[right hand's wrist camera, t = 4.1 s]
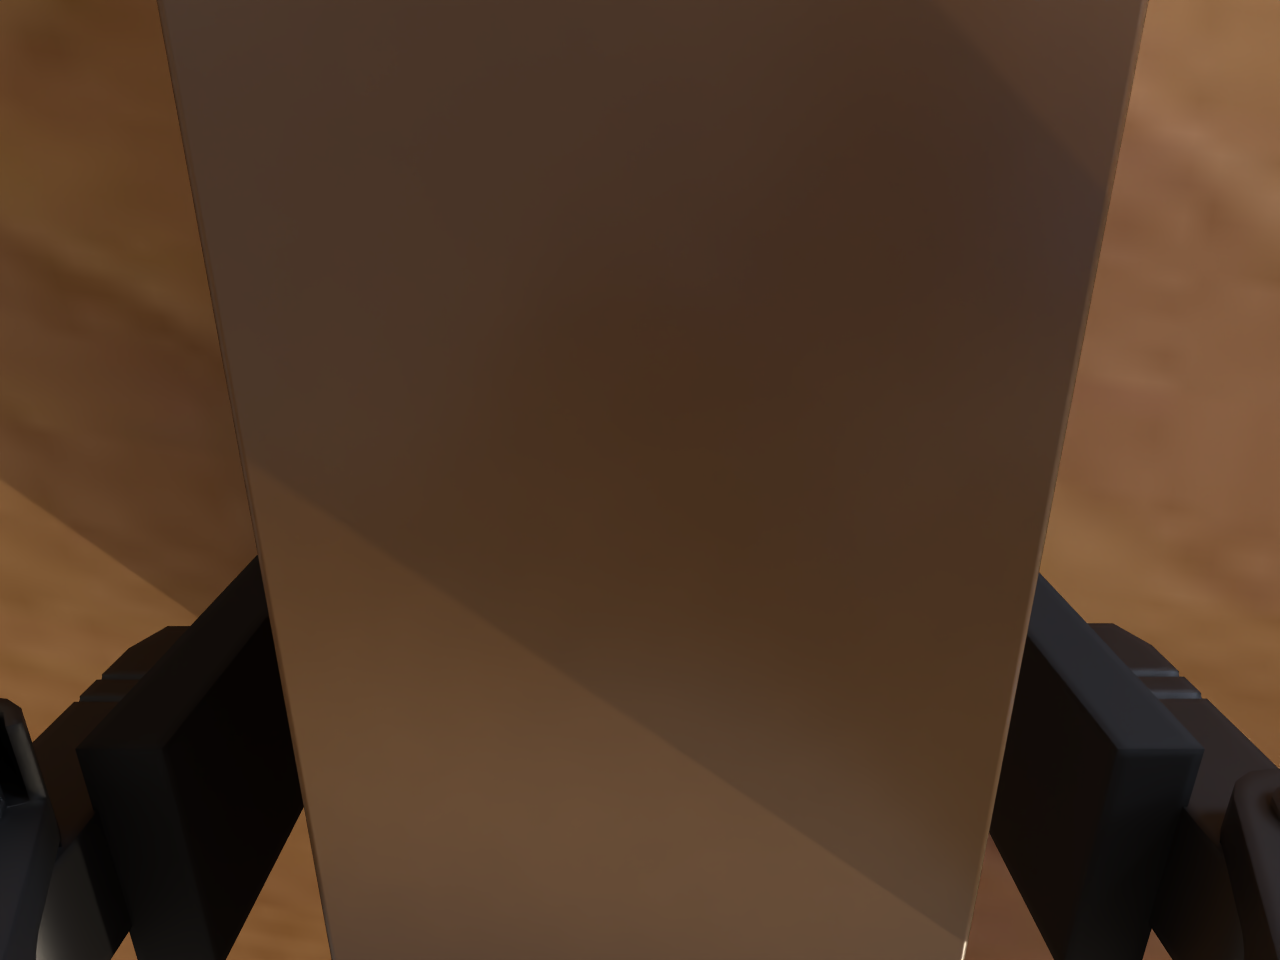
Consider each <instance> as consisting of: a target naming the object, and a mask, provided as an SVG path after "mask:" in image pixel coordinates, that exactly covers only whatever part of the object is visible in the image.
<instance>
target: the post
mask: <svg viewBox="0 0 1280 960" xmlns="http://www.w3.org/2000/svg"><path fill="white" fill-rule="evenodd" d="M1148 1H1149V0H157V4H158V10H159V15H160V21H161V26H162V31H163V37H164V42H165V48H166V53H167V59H168V64H169V70H170V75H171V81H172V86H173V92H174V97H175V103H176V108H177V114H178V119H179V125H180V130H181V136H182V141H183V147H184V152H185V158H186V163H187V169H188V174H189V180H190V185H191V191H192V196H193V201H194V207H195V212H196V218H197V223H198V229H199V234H200V240H201V245H202V251H203V256H204V262H205V267H206V273H207V278H208V284H209V289H210V295H211V300H212V306H213V311H214V317H215V322H216V328H217V333H218V339H219V344H220V350H221V355H222V361H223V366H224V371H225V377H226V382H227V388H228V393H229V399H230V404H231V410H232V415H233V421H234V426H235V432H236V437H237V443H238V448H239V454H240V459H241V465H242V470H243V476H244V481H245V487H246V492H247V498H248V503H249V509H250V514H251V520H252V525H253V530H254V536H255V541H256V547H257V552H258V558H259V563H260V569H261V574H262V580H263V585H264V591H265V596H266V602H267V607H268V613H269V618H270V624H271V629H272V635H273V640H274V646H275V651H276V657H277V662H278V668H279V673H280V679H281V684H282V690H283V695H284V700H285V706H286V711H287V717H288V722H289V728H290V733H291V739H292V744H293V750H294V755H295V761H296V766H297V772H298V777H299V783H300V788H301V794H302V799H303V805H304V810H305V816H306V821H307V827H308V832H309V838H310V843H311V849H312V854H313V860H314V865H315V870H316V876H317V881H318V887H319V892H320V898H321V903H322V909H323V914H324V920H325V925H326V931H327V936H328V942H329V947H330V953H331V958H332V960H964V959H965V954H966V949H967V944H968V939H969V933H970V928H971V923H972V918H973V912H974V907H975V902H976V897H977V892H978V886H979V881H980V876H981V871H982V866H983V860H984V855H985V850H986V845H987V840H988V834H989V829H990V824H991V819H992V813H993V808H994V803H995V798H996V793H997V787H998V782H999V777H1000V772H1001V767H1002V761H1003V756H1004V751H1005V746H1006V741H1007V735H1008V730H1009V725H1010V720H1011V714H1012V709H1013V704H1014V699H1015V694H1016V688H1017V683H1018V678H1019V673H1020V668H1021V662H1022V657H1023V652H1024V647H1025V642H1026V636H1027V631H1028V626H1029V621H1030V615H1031V610H1032V605H1033V600H1034V595H1035V589H1036V584H1037V579H1038V574H1039V569H1040V563H1041V558H1042V553H1043V548H1044V543H1045V537H1046V532H1047V527H1048V522H1049V516H1050V511H1051V506H1052V501H1053V496H1054V490H1055V485H1056V480H1057V475H1058V470H1059V464H1060V459H1061V454H1062V449H1063V444H1064V438H1065V433H1066V428H1067V423H1068V417H1069V412H1070V407H1071V402H1072V397H1073V391H1074V386H1075V381H1076V376H1077V371H1078V365H1079V360H1080V355H1081V350H1082V345H1083V339H1084V334H1085V329H1086V324H1087V318H1088V313H1089V308H1090V303H1091V298H1092V292H1093V287H1094V282H1095V277H1096V272H1097V266H1098V261H1099V256H1100V251H1101V246H1102V240H1103V235H1104V230H1105V225H1106V219H1107V214H1108V209H1109V204H1110V199H1111V193H1112V188H1113V183H1114V178H1115V173H1116V167H1117V162H1118V157H1119V152H1120V147H1121V141H1122V136H1123V131H1124V126H1125V120H1126V115H1127V110H1128V105H1129V100H1130V94H1131V89H1132V84H1133V79H1134V74H1135V68H1136V63H1137V58H1138V53H1139V48H1140V42H1141V37H1142V32H1143V27H1144V21H1145V16H1146V11H1147V6H1148Z"/></svg>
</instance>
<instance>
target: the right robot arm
mask: <svg viewBox="0 0 1280 960" xmlns="http://www.w3.org/2000/svg"><path fill="white" fill-rule="evenodd" d="M303 807H304V805H303V799H302V794H301V788H300V783H299V777H298V772H297V766H296V761H295V755H294V750H293V744H292V739H291V733H290V728H289V722H288V717H287V711H286V706H285V700H284V695H283V690H282V684H281V679H280V673H279V668H278V662H277V657H276V651H275V646H274V640H273V635H272V629H271V624H270V618H269V613H268V607H267V602H266V596H265V591H264V585H263V580H262V574H261V569H260V563H259V558H258V555H257V556H256V557H255V558H254V559H253V560H252V561H251V562H250V563H249V564H248V565H247V567H246V568H245V569H244V570H243V571H242V572H241V573H240V574H239V575H238V576H237V577H236V578H235V579H234V580H233V581H232V582H231V584H230V585H229V586H228V587H227V588H226V589H225V590H224V591H223V592H222V593H221V594H220V595H219V596H218V597H217V598H216V599H215V601H214V602H213V603H212V604H211V605H210V606H209V607H208V608H207V609H206V610H205V611H204V612H203V613H202V614H201V615H200V616H199V618H198V619H197V620H196V621H195V622H194V623H193V624H192V625H191V626H167V627H165V628H164V629H162V630H160V631H158V632H157V633H155V634H153V635H151V636H150V637H148V638H146V639H144V640H143V641H141V642H139V643H137V644H136V645H134V646H132V647H130V648H129V649H128V650H127V651H126V652H125V653H124V654H123V655H122V656H121V657H119V658H118V659H117V660H116V661H115V662H114V663H113V664H112V665H111V666H110V667H109V668H108V669H107V670H106V671H105V672H104V673H103V674H102V679H101V680H96V681H95V682H94V683H93V684H92V685H91V686H90V687H89V688H88V689H87V690H86V691H85V692H84V693H83V694H82V695H81V696H80V701H79V702H74V703H72V704H71V705H70V706H69V707H68V708H67V709H66V710H65V711H64V712H63V713H62V714H61V715H60V716H59V717H58V718H57V719H56V720H55V721H54V722H53V723H52V724H51V725H50V726H49V727H48V728H47V729H46V730H45V731H44V732H43V733H42V734H41V735H40V736H39V737H38V738H37V739H36V740H35V741H34V742H33V743H32V741H31V738H30V734H29V731H28V728H27V725H26V722H25V719H24V716H23V712H22V709H21V708H20V707H19V706H17V705H16V704H14V703H13V702H11V701H9V700H8V699H3V698H0V960H111V958H112V957H113V955H114V954H115V952H116V950H117V949H118V947H119V946H120V944H121V943H122V941H123V940H124V938H125V937H126V935H127V934H128V932H130V935H131V939H132V942H133V945H134V949H135V952H136V956H137V959H138V960H226V958H227V956H228V954H229V952H230V950H231V948H232V946H233V945H234V943H235V941H236V939H237V937H238V935H239V933H240V931H241V929H242V927H243V925H244V923H245V921H246V919H247V917H248V915H249V913H250V911H251V909H252V907H253V905H254V903H255V901H256V899H257V898H258V896H259V894H260V892H261V890H262V888H263V886H264V884H265V882H266V880H267V878H268V876H269V874H270V872H271V870H272V868H273V866H274V864H275V862H276V860H277V858H278V856H279V854H280V852H281V850H282V849H283V847H284V845H285V843H286V841H287V839H288V837H289V835H290V833H291V831H292V829H293V827H294V825H295V823H296V821H297V819H298V817H299V815H300V813H301V811H302V809H303ZM989 833H990V835H991V837H992V839H993V841H994V843H995V845H996V847H997V849H998V851H999V852H1000V854H1001V856H1002V858H1003V860H1004V862H1005V864H1006V866H1007V868H1008V870H1009V872H1010V874H1011V876H1012V878H1013V880H1014V882H1015V884H1016V886H1017V888H1018V890H1019V892H1020V894H1021V896H1022V898H1023V900H1024V901H1025V903H1026V905H1027V907H1028V909H1029V911H1030V913H1031V915H1032V917H1033V919H1034V921H1035V923H1036V925H1037V927H1038V929H1039V931H1040V933H1041V935H1042V937H1043V939H1044V941H1045V943H1046V945H1047V947H1048V948H1049V950H1050V952H1051V954H1052V956H1053V958H1054V960H1142V959H1143V956H1144V952H1145V949H1146V945H1147V942H1148V939H1149V935H1150V932H1151V929H1153V931H1154V932H1155V934H1156V935H1157V937H1158V938H1159V940H1160V941H1161V943H1162V944H1163V946H1164V947H1165V949H1166V950H1167V952H1168V953H1169V955H1170V957H1171V958H1172V960H1280V769H1279V768H1277V767H1276V766H1275V765H1274V764H1273V763H1272V762H1271V761H1270V760H1269V759H1268V758H1267V757H1266V756H1265V755H1264V754H1263V753H1262V752H1261V751H1260V750H1259V749H1258V748H1257V747H1256V746H1255V745H1254V744H1253V743H1252V742H1251V741H1250V740H1249V739H1248V738H1247V737H1246V736H1245V735H1244V734H1243V733H1241V732H1240V731H1239V730H1238V729H1237V728H1236V727H1235V726H1234V725H1233V724H1232V723H1231V722H1230V721H1229V720H1228V719H1227V718H1226V717H1225V716H1224V715H1223V714H1222V713H1221V712H1220V711H1219V710H1218V709H1217V708H1216V707H1215V706H1214V705H1213V704H1212V703H1211V702H1210V701H1209V700H1208V699H1202V698H1201V693H1200V692H1199V691H1198V690H1197V689H1196V688H1195V687H1194V686H1193V685H1192V684H1191V683H1190V682H1189V681H1188V680H1187V679H1186V678H1185V677H1179V671H1178V670H1177V669H1176V668H1175V667H1174V666H1173V665H1172V664H1170V663H1169V662H1168V661H1167V660H1166V659H1165V658H1164V657H1163V656H1162V655H1161V654H1160V653H1159V652H1158V651H1157V650H1156V649H1155V648H1154V647H1153V646H1152V645H1150V644H1148V643H1147V642H1145V641H1143V640H1141V639H1140V638H1138V637H1136V636H1134V635H1133V634H1131V633H1129V632H1127V631H1125V630H1124V629H1122V628H1120V627H1118V626H1117V625H1115V624H1113V623H1086V622H1085V621H1084V620H1083V619H1082V618H1081V617H1080V615H1079V614H1078V613H1077V612H1076V611H1075V610H1074V609H1073V608H1072V607H1071V606H1070V605H1069V604H1068V603H1067V602H1066V601H1065V599H1064V598H1063V597H1062V596H1061V595H1060V594H1059V593H1058V592H1057V591H1056V590H1055V589H1054V588H1053V587H1052V586H1051V585H1050V584H1049V582H1048V581H1047V580H1046V579H1045V578H1044V577H1043V576H1042V575H1041V574H1040V573H1039V574H1038V579H1037V584H1036V589H1035V595H1034V600H1033V605H1032V610H1031V615H1030V621H1029V626H1028V631H1027V636H1026V642H1025V647H1024V652H1023V657H1022V662H1021V668H1020V673H1019V678H1018V683H1017V688H1016V694H1015V699H1014V704H1013V709H1012V714H1011V720H1010V725H1009V730H1008V735H1007V741H1006V746H1005V751H1004V756H1003V761H1002V767H1001V772H1000V777H999V782H998V787H997V793H996V798H995V803H994V808H993V813H992V819H991V824H990V829H989Z"/></svg>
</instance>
